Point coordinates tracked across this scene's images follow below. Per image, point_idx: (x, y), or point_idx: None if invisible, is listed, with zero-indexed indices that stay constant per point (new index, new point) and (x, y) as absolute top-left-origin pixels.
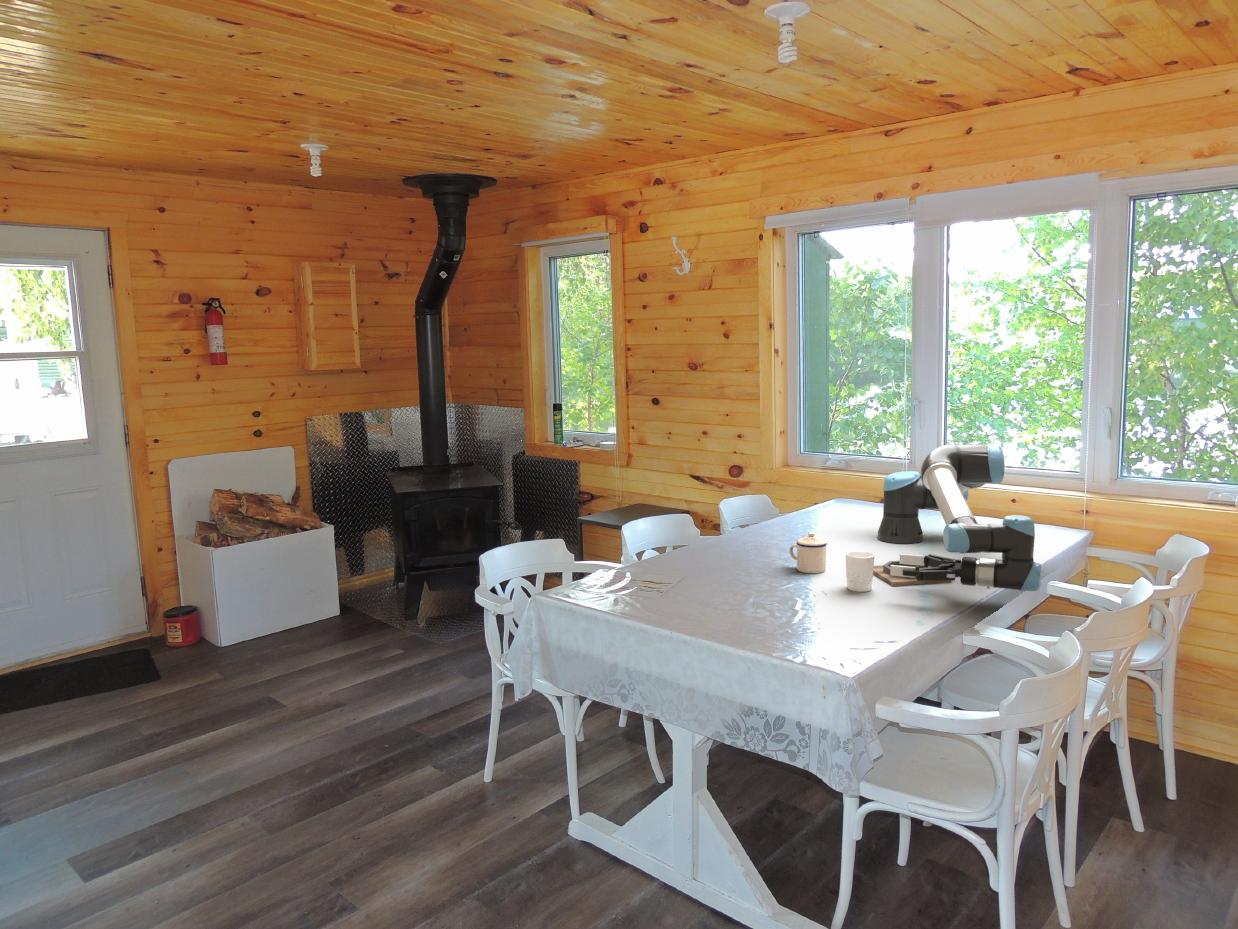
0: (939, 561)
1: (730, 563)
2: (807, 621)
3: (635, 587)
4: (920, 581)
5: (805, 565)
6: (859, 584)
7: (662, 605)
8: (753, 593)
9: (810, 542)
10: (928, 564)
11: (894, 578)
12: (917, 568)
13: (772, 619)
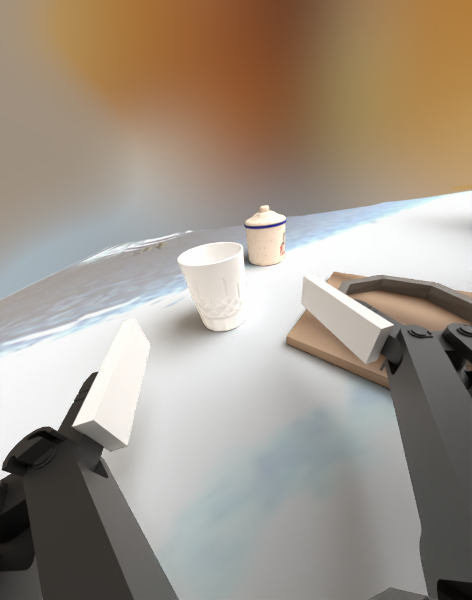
0: (455, 491)
1: (234, 238)
2: (3, 353)
3: (142, 248)
4: (379, 377)
5: (248, 252)
6: (199, 313)
7: (96, 266)
8: (147, 274)
9: (250, 220)
10: (391, 380)
11: (317, 325)
12: (18, 459)
13: (30, 322)
